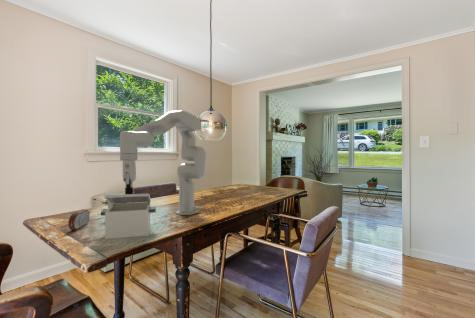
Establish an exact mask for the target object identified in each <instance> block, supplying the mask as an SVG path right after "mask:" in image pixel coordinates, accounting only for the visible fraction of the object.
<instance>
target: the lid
mask: <svg viewBox="0 0 475 318" xmlns="http://www.w3.org/2000/svg"><path fill="white" fill-rule="evenodd" d="M104 199H105V200H106V201H107V202H108V201H109V202H111V203H112V204H116V203H140V202H150V203H151V201H152V199H151V196H150V193H133V194H125V193H123V194H104Z"/></svg>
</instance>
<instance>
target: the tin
mask: <svg viewBox="0 0 475 318" xmlns="http://www.w3.org/2000/svg"><path fill="white" fill-rule="evenodd" d="M89 220H90V211H89V210H88V209H80V210H78V211H75V212H73V213H72V214H71V215H70V216H69V217H68V225H67V227H68V229H69V230H71V231H72V230H76V231H77V230H79V229H81V228H82V227H85V226H86V225H87V224H88V223H89Z"/></svg>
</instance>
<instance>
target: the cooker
mask: <svg viewBox="0 0 475 318" xmlns="http://www.w3.org/2000/svg"><path fill="white" fill-rule="evenodd" d="M156 208H157V206H151V202H137V203H119V204H112V205H111V206H110V208H109V209H108V208H104V209H102V211H101V212H100V216H101V217H102V216H104V226H105V227H104V233H105V234H104V238H105V240H111V239H123V238H134V237H144V236H145V237H146V236H149V233H150V226H151V214H152V213H156V212H157V211H156V210H157V209H156Z"/></svg>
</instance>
